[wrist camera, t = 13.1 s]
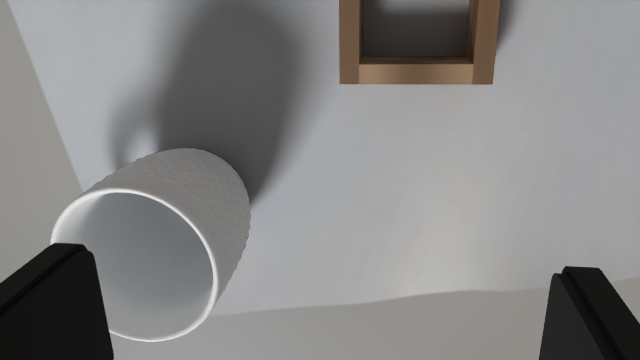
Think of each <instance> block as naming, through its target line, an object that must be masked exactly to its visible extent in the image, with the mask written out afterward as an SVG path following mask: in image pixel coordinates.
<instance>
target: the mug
mask: <svg viewBox="0 0 640 360" xmlns="http://www.w3.org/2000/svg"><path fill="white" fill-rule="evenodd" d="M250 218H251V215H250V205H249V198H248V195H247V190H246V188H245V186H244V183H243V181H242V180H241V179H240V177H239V175H238V173H237V172H236V171H235V170H234V169H233V168H232V166H231V165H229V164H228V163H227V162H225V161H224V160H223V159H222V158H219V157H218V156H216V155H215V154H212V153H209V152H207V151H205V150H198V149H194V148H191V149H189V148H183V149H174V150H165V151H163V152H156V153H154V154H150V155H147V156H145V157H143V158H139V159H137V160H136V161H135V162H133V163H129V164H127V165H126V166H125V167H123V168H121V169H118V170H117V171H116V172H114V173H113V174H111V175H108V176H106V177H105V178H104V179H103V180H102V181H100V182H98V183H96V184H95V185H94V186H93V187H91V188H90V189H88V190H87V191H86V192H84V193H83V194H81V195H80V196H79V197H77V198H76V199H75V200H73V201H72V202H71V203H70V204H69V205H68V206H67V207H66V208H65V209H64V210H63V212H62V213H61V215H60V216H59V218H58V220H57V222H56V224H55V227H54V230H53V232H52V236H51V242H50V244H49V246H50V245H51V244H53V243H74V244H83V245H84V246H85V247H86V248H87V250H88V251H91V252H92V253H93V255H94V257H95V262H96V267H97V272H98V277H99V282H100V287H101V292H102V297H103V302H104V308H105V313H106V318H107V323H108V328H109V332H110V333H113V334H116V335H118V336H121V337H124V338H128V339H132V340H138V341H149V342H153V341H164V340H169V339H174V338H176V337H179V336H182V335H184V334H186V333H188V332H190V331H192V330H193V329H195V328H196V327H197V326H198V325H200V324H201V323H202V322H203V321H204V320H205V319H206V318H207V317H208V315H209V314H210V312H211V311H212V309H213V308H214V306H215V304H216V303H217V301H218V299H219V297H220V296H221V294H222V293H223V292H224V290H225V288H226V285H227V283H228V282H229V280H230V279H231V278H232V274H233V272H234V271H235V270H236V268H237V265H238V262H239V260H240V259H241V257H242V253H243V250H244V249H245V247H246V241H247V239H248V237H249V229H250Z"/></svg>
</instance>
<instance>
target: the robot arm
mask: <svg viewBox="0 0 640 360" xmlns="http://www.w3.org/2000/svg"><path fill="white" fill-rule="evenodd" d="M113 359H114V354H113V348H112V343H111V338H110V333H109V328H108V323H107V318H106V313H105V308H104V302H103V297H102V292H101V287H100V282H99V277H98V272H97V267H96V262H95V257H94V255H93V253H92V252H91V251H88V250H87V248H86V247H85V246H84V245H83V244H74V243H53V244H51V245H50V246H49V247H47V248H46V249H45V250H43V251H42V252H41V253H39V254H38V255H37V256H36V257H34V258H33V259H32V260H30V261H29V262H28V263H26V264H25V265H24V266H22V267H21V268H20V269H18V270H17V271H16V272H15V273H13V274H12V275H11V276H9V277H8V278H7V279H6V280H4V281H3V282H1V283H0V360H113ZM539 360H640V324H639V322H638V321H637V319H636V318H635V317H634V315H633V314H632V313H631V311H630V310H629V308H628V307H627V306H626V304H625V303H624V302H623V300H622V299H621V298H620V296H619V294H618V293H617V292H616V290H615V289H614V288H613V286H612V285H611V283H610V282H609V281H608V279H607V278H606V276H605V275H604V274H603V272H602V271H601V270H600V269H599V268H592V267H570V266H566V267H565V268H564V269H563V271H562V274H558V273H555V274H553V276H552V279H551V285H550V291H549V298H548V304H547V310H546V317H545V323H544V330H543V336H542V342H541V349H540V356H539Z"/></svg>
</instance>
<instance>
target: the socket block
mask: <svg viewBox="0 0 640 360" xmlns="http://www.w3.org/2000/svg"><path fill="white" fill-rule="evenodd" d="M500 1H501V0H470V7H469V20H468V33H467V46H466V56H400V57H363V0H339V46H340V84H493V74H494V64H495V53H496V43H497V32H498V22H499V11H500Z"/></svg>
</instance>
